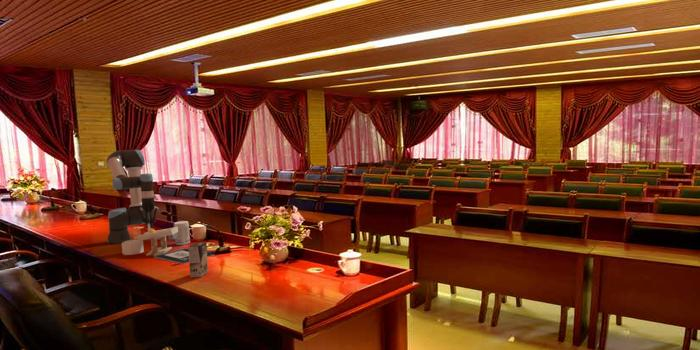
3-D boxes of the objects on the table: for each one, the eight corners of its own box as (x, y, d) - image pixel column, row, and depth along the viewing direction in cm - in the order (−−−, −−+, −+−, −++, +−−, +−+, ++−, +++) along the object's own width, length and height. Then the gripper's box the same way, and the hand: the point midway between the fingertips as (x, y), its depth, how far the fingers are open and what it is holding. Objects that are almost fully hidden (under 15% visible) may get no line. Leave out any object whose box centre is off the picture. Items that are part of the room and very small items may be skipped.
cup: (128, 250, 298) (128, 239, 298) (146, 250, 298) (145, 239, 298) (119, 255, 287) (118, 244, 287) (137, 254, 287) (136, 243, 286)
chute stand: (172, 248, 300) (171, 232, 300) (160, 255, 283) (159, 238, 283) (158, 248, 301) (157, 232, 300) (146, 255, 284) (145, 238, 283)
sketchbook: (183, 265, 261) (183, 261, 261) (152, 258, 278) (152, 255, 278) (214, 256, 279) (214, 252, 279) (183, 250, 296) (183, 247, 296)
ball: (149, 232, 293) (152, 227, 293) (155, 235, 293) (158, 230, 293) (146, 233, 289) (149, 228, 289) (152, 237, 289) (155, 231, 289)
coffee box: (202, 277, 234) (200, 246, 233) (189, 277, 234) (187, 246, 233) (208, 271, 243) (206, 241, 242) (196, 272, 244) (194, 242, 242)
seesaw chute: (184, 233, 304) (182, 223, 303) (172, 239, 286) (170, 229, 285) (151, 239, 305) (149, 229, 304) (137, 245, 287) (135, 235, 286)
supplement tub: (187, 241, 321) (185, 220, 319) (192, 243, 313) (190, 222, 312) (173, 243, 314) (171, 222, 313) (177, 246, 307) (176, 224, 306)
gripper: (134, 198, 296) (137, 234, 298) (155, 197, 296) (157, 234, 297) (140, 197, 304) (143, 232, 305) (160, 196, 303) (162, 231, 305)
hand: (150, 233), depth 301 cm, fingers closed
